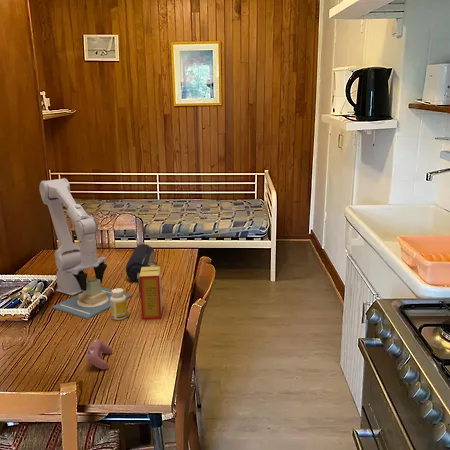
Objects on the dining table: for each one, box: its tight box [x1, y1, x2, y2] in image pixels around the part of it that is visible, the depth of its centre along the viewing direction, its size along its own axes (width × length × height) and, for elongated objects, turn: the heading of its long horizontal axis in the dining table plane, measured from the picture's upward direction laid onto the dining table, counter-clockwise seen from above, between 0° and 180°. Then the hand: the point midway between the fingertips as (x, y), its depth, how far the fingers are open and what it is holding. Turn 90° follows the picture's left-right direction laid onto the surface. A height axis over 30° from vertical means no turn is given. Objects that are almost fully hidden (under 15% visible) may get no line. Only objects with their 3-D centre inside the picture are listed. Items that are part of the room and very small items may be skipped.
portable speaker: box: [125, 243, 156, 282], centre depth 202 cm, size 25×10×10 cm, turn 1°
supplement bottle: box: [110, 287, 128, 321], centre depth 161 cm, size 5×5×10 cm
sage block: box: [82, 276, 102, 296], centre depth 172 cm, size 4×4×6 cm
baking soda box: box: [139, 265, 163, 321], centre depth 162 cm, size 10×6×16 cm
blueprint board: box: [51, 286, 132, 320], centre depth 173 cm, size 18×22×4 cm
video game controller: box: [86, 339, 113, 370], centre depth 134 cm, size 10×5×7 cm, turn 5°
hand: (91, 286), depth 172 cm, fingers open, 7 cm apart
